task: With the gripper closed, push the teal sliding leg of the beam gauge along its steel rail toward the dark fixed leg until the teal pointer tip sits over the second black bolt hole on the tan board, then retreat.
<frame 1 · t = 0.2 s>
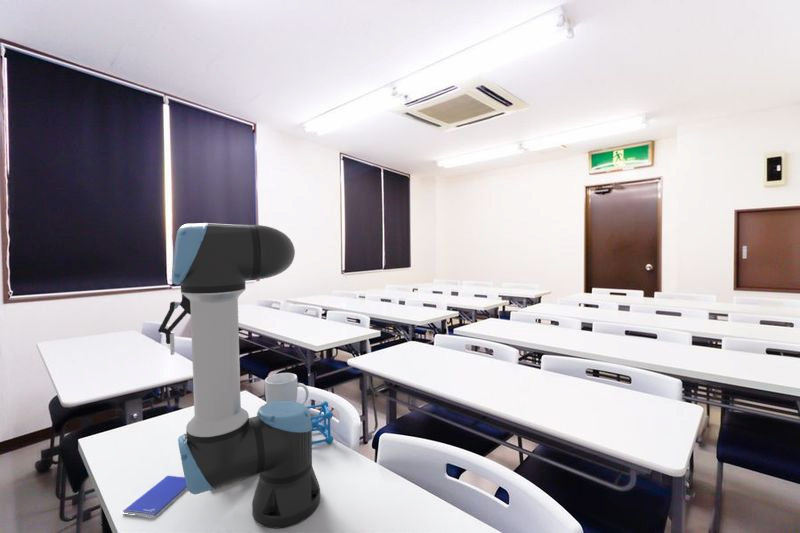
hand: (197, 351, 114), 27 cm above the table, fingers open, 13 cm apart
gauge board: (228, 459, 101), on the table
mug: (285, 413, 129), on the table
sliding leg: (224, 432, 107), point 5 cm above the table, slide at 0.0 cm
molecular structure: (314, 440, 112), on the table
hard drive: (161, 500, 86), on the table
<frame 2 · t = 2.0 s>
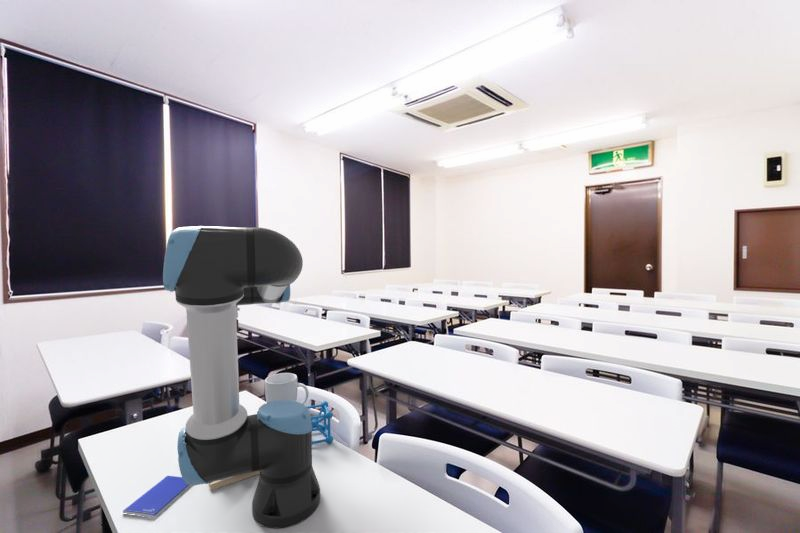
hand: (227, 392, 114), 14 cm above the table, fingers closed
nothing on the table moved.
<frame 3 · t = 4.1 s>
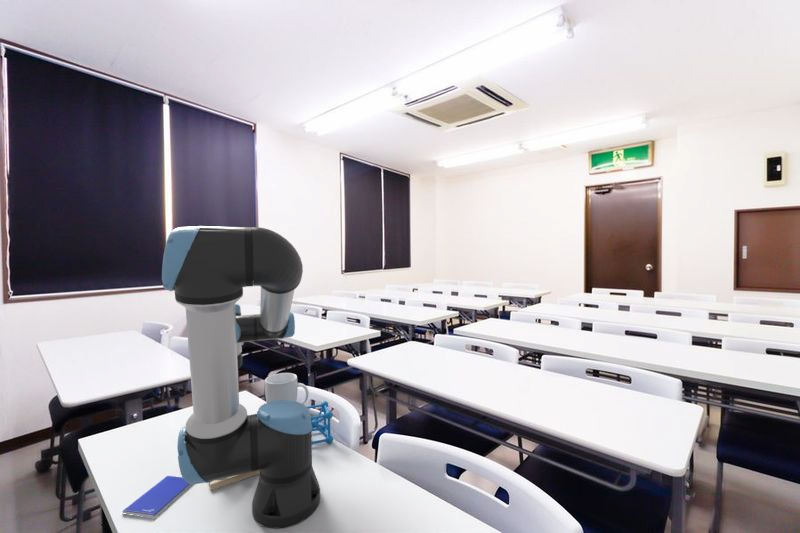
hand: (231, 430, 110), 4 cm above the table, fingers closed
sliding leg: (224, 434, 106), point 5 cm above the table, slide at 1.2 cm, touching gripper
everything else where it was.
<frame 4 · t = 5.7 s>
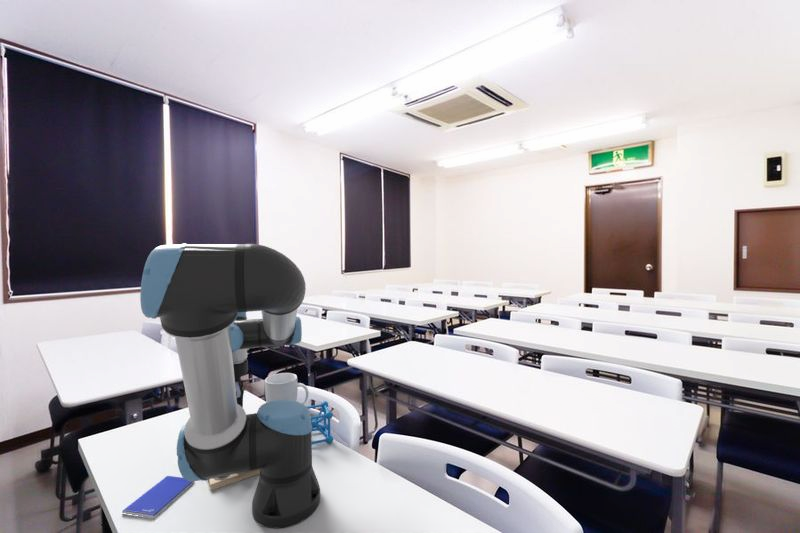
hand: (235, 440, 104), 4 cm above the table, fingers closed
sliding leg: (229, 445, 100), point 5 cm above the table, slide at 8.6 cm, touching gripper
everything else where it was.
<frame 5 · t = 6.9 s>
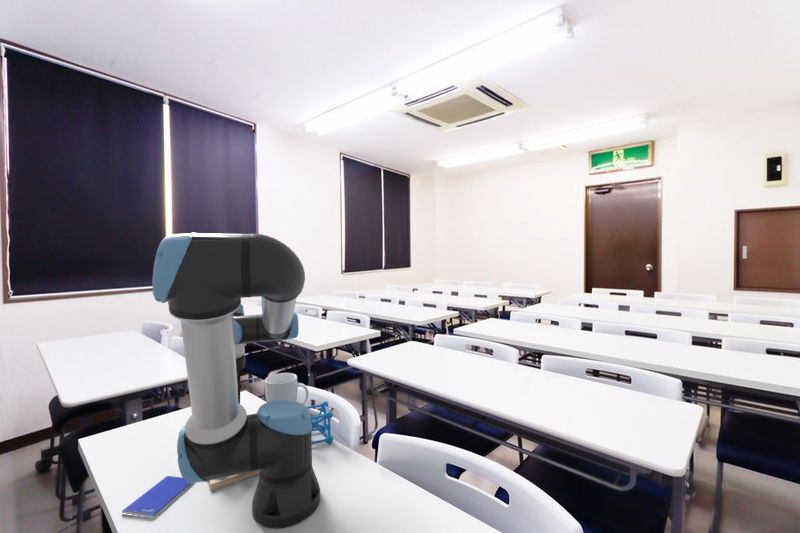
hand: (233, 433, 107), 4 cm above the table, fingers closed
sliding leg: (229, 445, 100), point 5 cm above the table, slide at 8.7 cm
everything else where it was.
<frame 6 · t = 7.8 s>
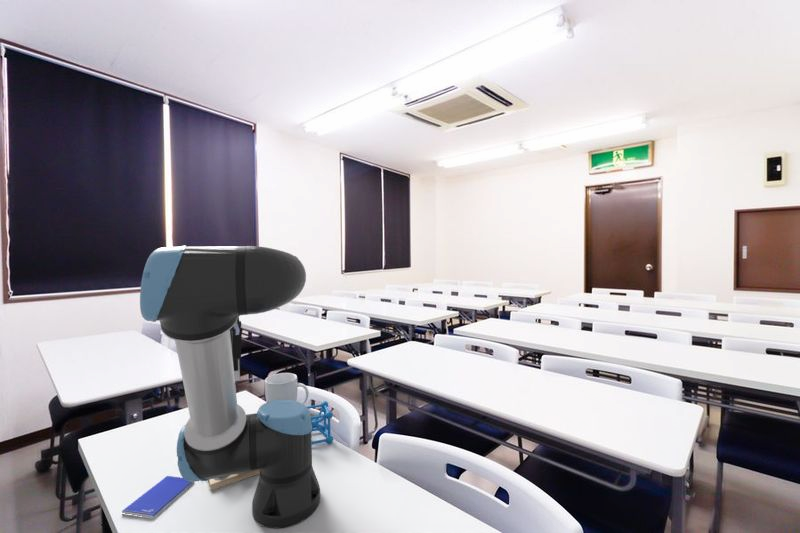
hand: (234, 380, 106), 21 cm above the table, fingers closed
nothing on the table moved.
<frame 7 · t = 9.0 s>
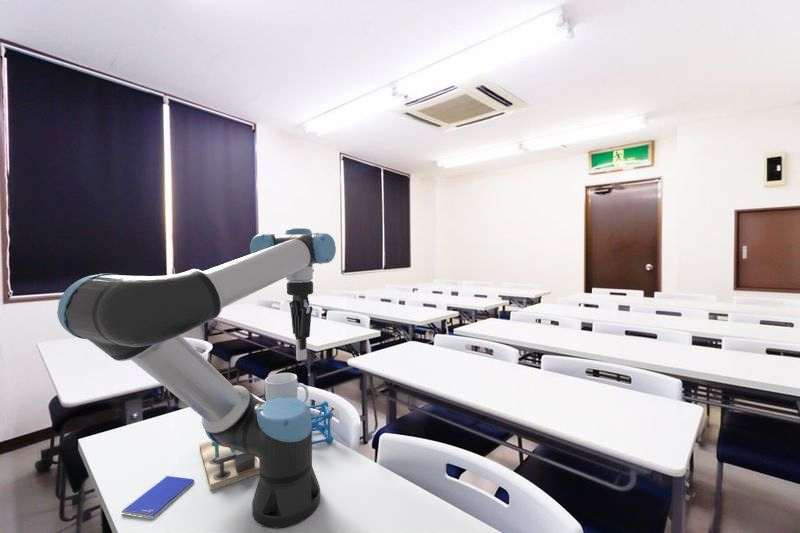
hand: (301, 359, 107), 26 cm above the table, fingers closed
nothing on the table moved.
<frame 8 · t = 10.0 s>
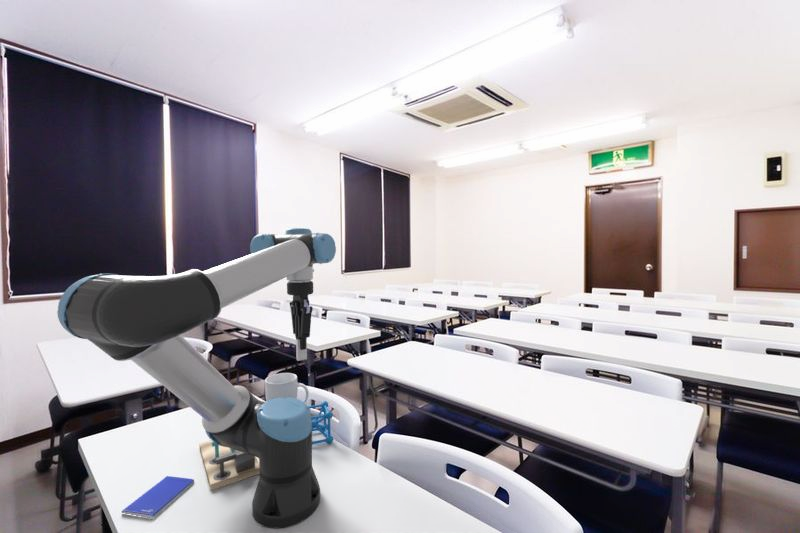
hand: (301, 359, 107), 26 cm above the table, fingers closed
nothing on the table moved.
at the end: sliding leg slide at 8.7 cm; the gripper is holding nothing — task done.
